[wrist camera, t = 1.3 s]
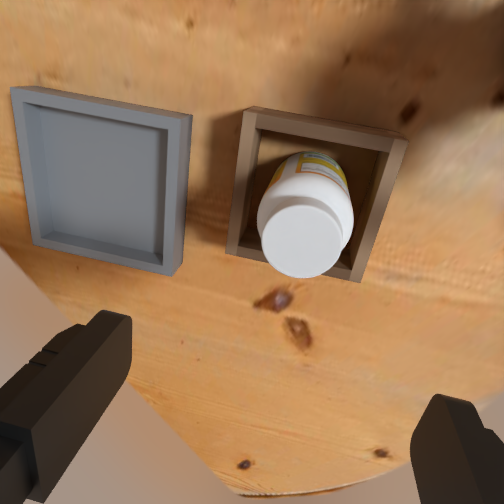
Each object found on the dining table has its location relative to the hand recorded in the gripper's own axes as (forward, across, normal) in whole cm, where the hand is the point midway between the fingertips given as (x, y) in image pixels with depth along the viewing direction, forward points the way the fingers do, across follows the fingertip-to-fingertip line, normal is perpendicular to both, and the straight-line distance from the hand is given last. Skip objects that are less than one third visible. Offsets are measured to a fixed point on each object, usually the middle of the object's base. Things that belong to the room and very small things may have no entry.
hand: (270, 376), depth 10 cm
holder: (+19, 0, 0) cm, 19 cm away
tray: (+19, +15, +2) cm, 24 cm away
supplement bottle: (+19, 0, 0) cm, 19 cm away
